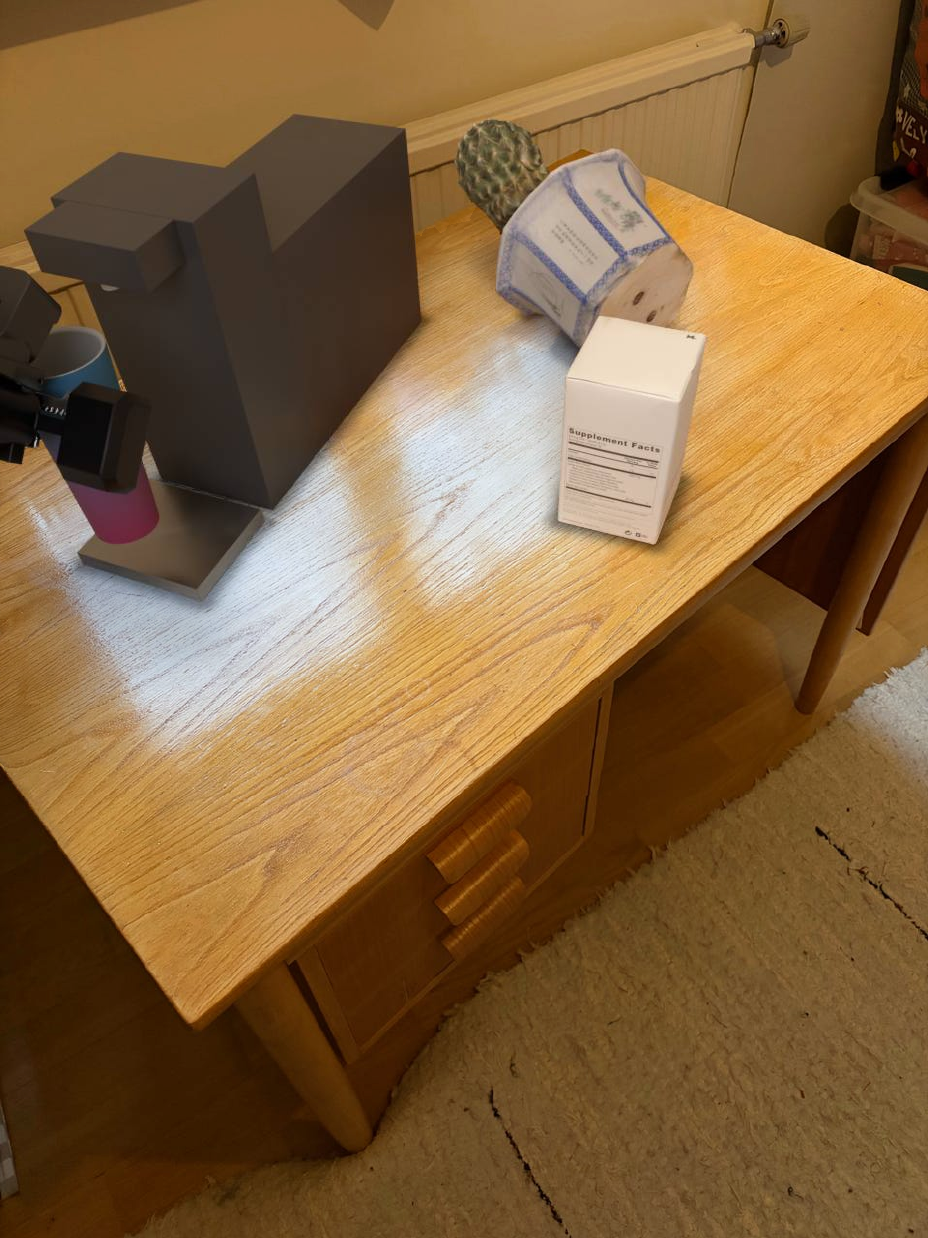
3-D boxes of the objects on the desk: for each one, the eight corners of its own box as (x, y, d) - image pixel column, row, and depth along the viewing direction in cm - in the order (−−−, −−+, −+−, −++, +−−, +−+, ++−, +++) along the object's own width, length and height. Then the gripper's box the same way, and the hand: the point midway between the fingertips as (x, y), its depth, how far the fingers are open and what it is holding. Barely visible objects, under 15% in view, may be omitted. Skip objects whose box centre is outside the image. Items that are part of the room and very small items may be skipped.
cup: (166, 546, 67) (97, 373, 56) (76, 557, 67) (-12, 385, 56) (174, 490, 72) (112, 320, 60) (90, 500, 71) (12, 331, 60)
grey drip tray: (202, 601, 71) (196, 589, 70) (83, 564, 75) (76, 552, 73) (264, 521, 77) (261, 509, 76) (152, 490, 80) (147, 477, 79)
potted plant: (743, 207, 81) (553, 35, 91) (589, 276, 76) (406, 86, 86) (689, 345, 97) (532, 185, 107) (558, 410, 91) (406, 235, 102)
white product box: (585, 458, 81) (598, 310, 70) (681, 480, 79) (710, 331, 67) (553, 522, 76) (561, 374, 64) (655, 548, 73) (682, 398, 62)
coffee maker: (246, 544, 75) (153, 254, 56) (132, 511, 79) (5, 226, 59) (421, 321, 97) (399, 54, 77) (326, 302, 100) (281, 42, 80)
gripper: (73, 274, 46) (235, 348, 61) (-185, 222, 51) (23, 302, 66) (34, 483, 47) (202, 505, 62) (-214, 412, 52) (-3, 448, 67)
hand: (103, 434), depth 64 cm, fingers closed on cup, 6 cm apart
